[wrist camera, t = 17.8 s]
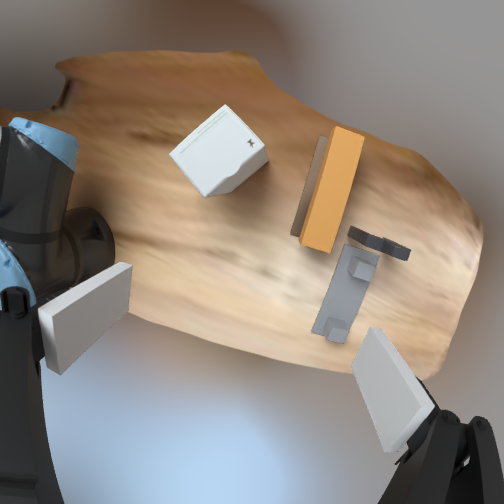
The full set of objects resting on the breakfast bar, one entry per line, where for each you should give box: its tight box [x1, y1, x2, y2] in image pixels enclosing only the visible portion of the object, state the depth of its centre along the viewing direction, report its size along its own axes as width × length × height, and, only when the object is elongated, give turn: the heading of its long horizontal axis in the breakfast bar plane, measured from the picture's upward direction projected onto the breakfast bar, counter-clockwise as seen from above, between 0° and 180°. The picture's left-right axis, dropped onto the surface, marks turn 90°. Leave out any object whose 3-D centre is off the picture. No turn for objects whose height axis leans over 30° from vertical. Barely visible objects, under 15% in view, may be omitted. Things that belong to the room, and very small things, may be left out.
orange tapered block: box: [299, 126, 364, 253], centre depth 35 cm, size 4×16×4 cm, turn 164°
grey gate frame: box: [348, 226, 411, 261], centre depth 35 cm, size 7×2×12 cm, turn 74°
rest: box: [290, 135, 329, 236], centre depth 38 cm, size 6×16×4 cm, turn 164°
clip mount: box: [311, 244, 379, 344], centre depth 42 cm, size 6×16×4 cm, turn 164°
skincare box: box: [169, 104, 268, 198], centre depth 33 cm, size 8×7×16 cm
